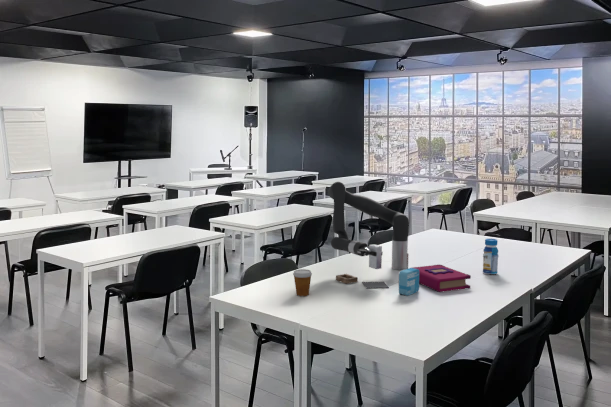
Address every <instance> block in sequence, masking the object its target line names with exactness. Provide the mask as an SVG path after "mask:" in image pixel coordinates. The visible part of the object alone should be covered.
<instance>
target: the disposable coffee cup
mask: <svg viewBox="0 0 611 407" xmlns="http://www.w3.org/2000/svg"><path fill="white" fill-rule="evenodd" d="M312 275H313V273H312V271H311V270H310V269H304V268H302V269H301V268H300V269H296V270H293V278H294V286H295V294H297V295H296V296H298V295H299V296H298V297H307V295H308V296H309V295H310V289H311V288H310V286H311V280H312V279H311V278H312Z"/></svg>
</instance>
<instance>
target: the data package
mask: <svg viewBox="0 0 611 407" xmlns="http://www.w3.org/2000/svg"><path fill="white" fill-rule="evenodd" d="M419 290H420V283H419V269H415V268H413V267H408V269H405V270H399V273H398V294H399V295H402V296H403V295H404V296H411V295H413V294H415V293H418V292H419Z"/></svg>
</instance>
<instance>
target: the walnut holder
mask: <svg viewBox="0 0 611 407" xmlns="http://www.w3.org/2000/svg"><path fill="white" fill-rule="evenodd" d="M335 281H337V282H339V283H340V282H341V283H343V284H346V285H349V284H353V283H358V276H354V275H351V274H348V273H344V274H343V273H342V274H338V275H335Z"/></svg>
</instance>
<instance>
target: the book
mask: <svg viewBox="0 0 611 407" xmlns="http://www.w3.org/2000/svg"><path fill="white" fill-rule="evenodd" d="M412 268H415V269H419V285H422V286H424V287H427V288H429V289H432V290H434V291H435V292H439V293H443V291H444V292H452V291H458V289H459V290H466V289H465V288H468V289H471V285H470V284H467V282H466V281H467V280H470V279H471V278H472V276H471V275H470V274H467V273H465V272H461V271H459V270H455V269H453V268H450V267H447V266H445V265H442V264H432V265H426V266H425V265H424V266H414V267H412ZM451 290H452V291H451Z"/></svg>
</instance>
